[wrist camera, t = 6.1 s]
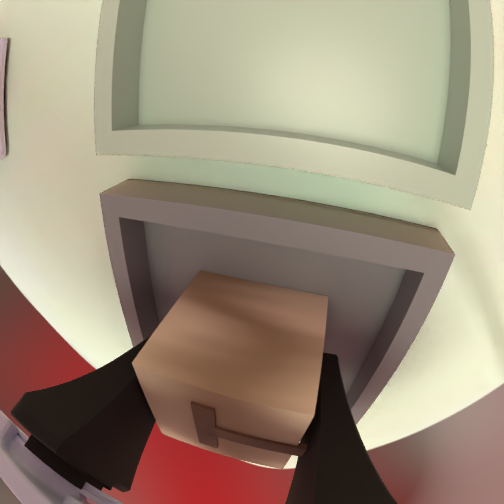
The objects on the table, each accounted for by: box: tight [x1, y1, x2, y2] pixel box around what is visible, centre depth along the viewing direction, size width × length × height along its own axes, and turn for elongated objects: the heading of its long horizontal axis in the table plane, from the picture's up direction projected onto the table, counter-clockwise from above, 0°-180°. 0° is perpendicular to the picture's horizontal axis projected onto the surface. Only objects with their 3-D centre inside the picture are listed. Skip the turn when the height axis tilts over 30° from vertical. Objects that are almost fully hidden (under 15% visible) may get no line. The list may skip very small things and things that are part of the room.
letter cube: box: [132, 270, 328, 469], centre depth 10 cm, size 5×5×5 cm
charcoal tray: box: [100, 179, 455, 424], centre depth 11 cm, size 12×12×2 cm
